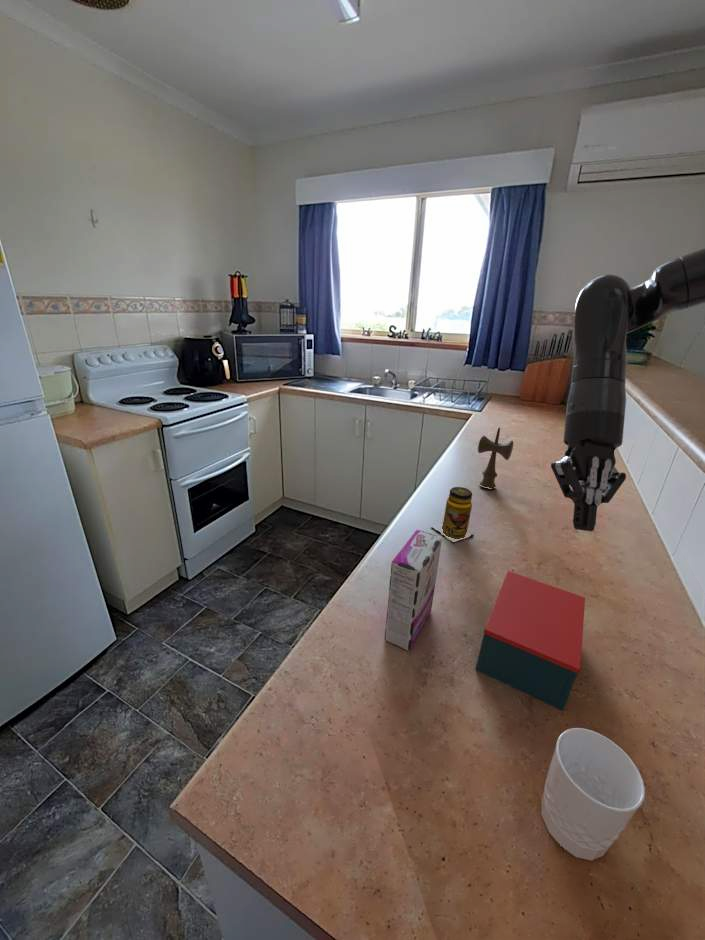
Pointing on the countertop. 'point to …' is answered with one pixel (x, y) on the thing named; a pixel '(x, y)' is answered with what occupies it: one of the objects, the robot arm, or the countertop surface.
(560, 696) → the box
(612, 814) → the white cup
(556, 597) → the lid
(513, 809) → the countertop surface
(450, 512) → the condiment
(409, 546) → the candy bar box
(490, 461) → the kendama
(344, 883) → the countertop surface
